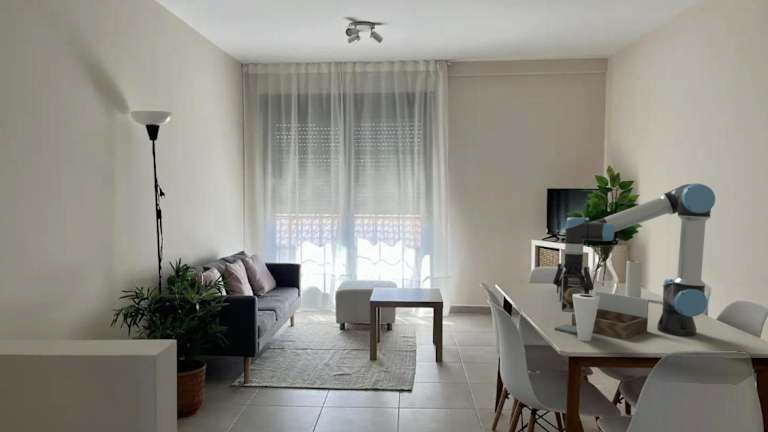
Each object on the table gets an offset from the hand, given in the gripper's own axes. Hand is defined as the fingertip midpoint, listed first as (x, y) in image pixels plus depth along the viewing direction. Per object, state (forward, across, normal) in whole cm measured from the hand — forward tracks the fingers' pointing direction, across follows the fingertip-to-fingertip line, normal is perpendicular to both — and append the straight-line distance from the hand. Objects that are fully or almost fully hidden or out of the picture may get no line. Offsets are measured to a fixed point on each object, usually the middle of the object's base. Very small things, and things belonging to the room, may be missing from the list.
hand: (572, 303), depth 234 cm
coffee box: (+4, 0, 0) cm, 4 cm away
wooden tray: (+12, -9, -16) cm, 22 cm away
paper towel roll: (+12, +19, -97) cm, 100 cm away
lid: (+6, -9, -26) cm, 28 cm away
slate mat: (+12, 0, 0) cm, 12 cm away
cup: (+12, -11, +9) cm, 19 cm away
